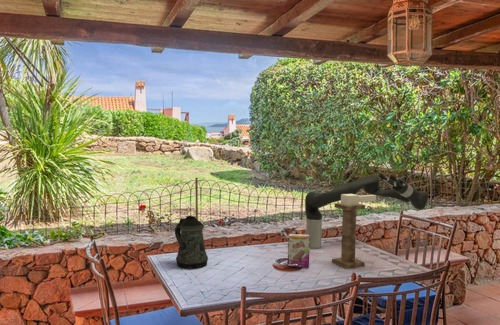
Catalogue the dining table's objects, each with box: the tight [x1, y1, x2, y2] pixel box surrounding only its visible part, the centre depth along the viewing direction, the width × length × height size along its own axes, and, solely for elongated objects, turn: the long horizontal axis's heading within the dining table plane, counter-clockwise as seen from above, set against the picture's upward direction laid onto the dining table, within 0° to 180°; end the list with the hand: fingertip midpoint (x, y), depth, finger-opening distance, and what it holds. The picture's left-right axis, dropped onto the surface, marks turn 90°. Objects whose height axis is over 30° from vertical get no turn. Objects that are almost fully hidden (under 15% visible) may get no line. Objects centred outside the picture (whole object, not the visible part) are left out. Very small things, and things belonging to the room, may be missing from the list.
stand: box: [331, 202, 366, 270], centre depth 234 cm, size 12×12×32 cm
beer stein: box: [174, 215, 209, 270], centre depth 231 cm, size 16×19×25 cm
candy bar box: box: [287, 233, 311, 269], centre depth 230 cm, size 11×5×16 cm, turn 84°
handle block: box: [340, 194, 377, 206], centre depth 236 cm, size 20×6×5 cm, turn 116°
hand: (384, 175), depth 252 cm, fingers open, 8 cm apart
